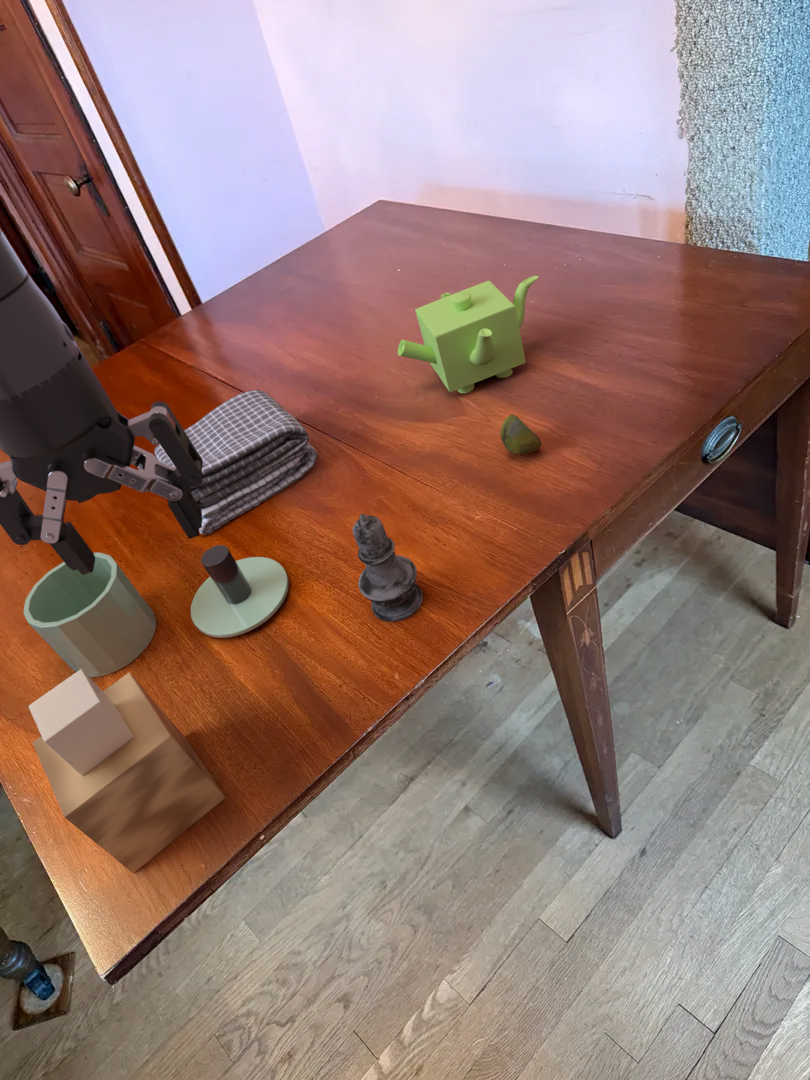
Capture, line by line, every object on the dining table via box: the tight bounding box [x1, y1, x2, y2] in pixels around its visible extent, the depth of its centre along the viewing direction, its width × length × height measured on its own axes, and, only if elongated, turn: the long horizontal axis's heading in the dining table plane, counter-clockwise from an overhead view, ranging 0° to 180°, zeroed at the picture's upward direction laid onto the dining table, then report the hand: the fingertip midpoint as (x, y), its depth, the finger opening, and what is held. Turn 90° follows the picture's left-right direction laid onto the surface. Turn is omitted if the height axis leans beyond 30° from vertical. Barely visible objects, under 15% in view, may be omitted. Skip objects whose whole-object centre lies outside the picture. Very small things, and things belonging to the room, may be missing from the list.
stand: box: [31, 672, 226, 874], centre depth 62 cm, size 9×9×10 cm
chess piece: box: [352, 513, 424, 623], centre depth 71 cm, size 6×6×12 cm
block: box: [27, 669, 134, 776], centre depth 57 cm, size 4×4×5 cm
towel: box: [154, 389, 318, 536], centre depth 95 cm, size 15×18×8 cm
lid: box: [190, 544, 290, 639], centre depth 78 cm, size 11×11×7 cm
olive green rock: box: [499, 413, 543, 455], centre depth 84 cm, size 4×5×5 cm
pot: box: [23, 551, 157, 678], centre depth 79 cm, size 10×10×8 cm
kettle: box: [397, 275, 539, 394], centre depth 97 cm, size 15×14×11 cm
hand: (142, 548), depth 57 cm, fingers open, 8 cm apart
